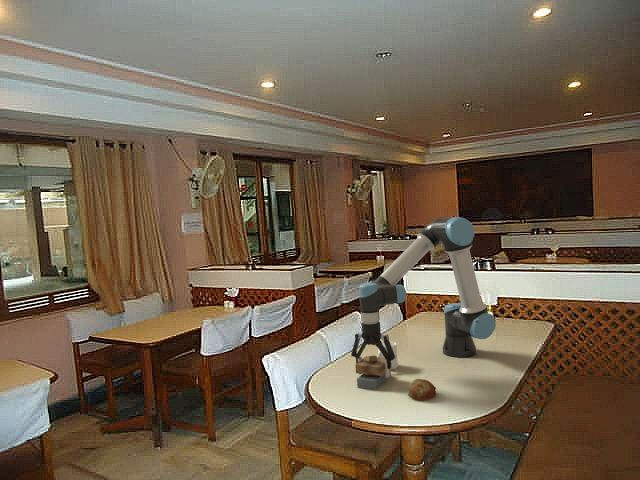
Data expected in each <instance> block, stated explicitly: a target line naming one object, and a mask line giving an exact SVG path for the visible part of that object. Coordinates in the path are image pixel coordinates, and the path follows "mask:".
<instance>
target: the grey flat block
mask: <svg viewBox="0 0 640 480" xmlns="http://www.w3.org/2000/svg"><path fill="white" fill-rule="evenodd" d="M389 370H390V369H389ZM390 371H391V370H390ZM391 373H392V372H390V376H389V377H388V378H386V375H385V373H384V374H383V375H382V376H376V375H367V374H361V375H360V376H358V377H357V378H356V385H357V388H358V389H366V390H373V391H377V390H378V389H379V388H380V387H381V386H382V385H383V384H384V383H385V382H386V381H387V380H388V379H389V378H390V377H391V376H392V375H391Z"/></svg>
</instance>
